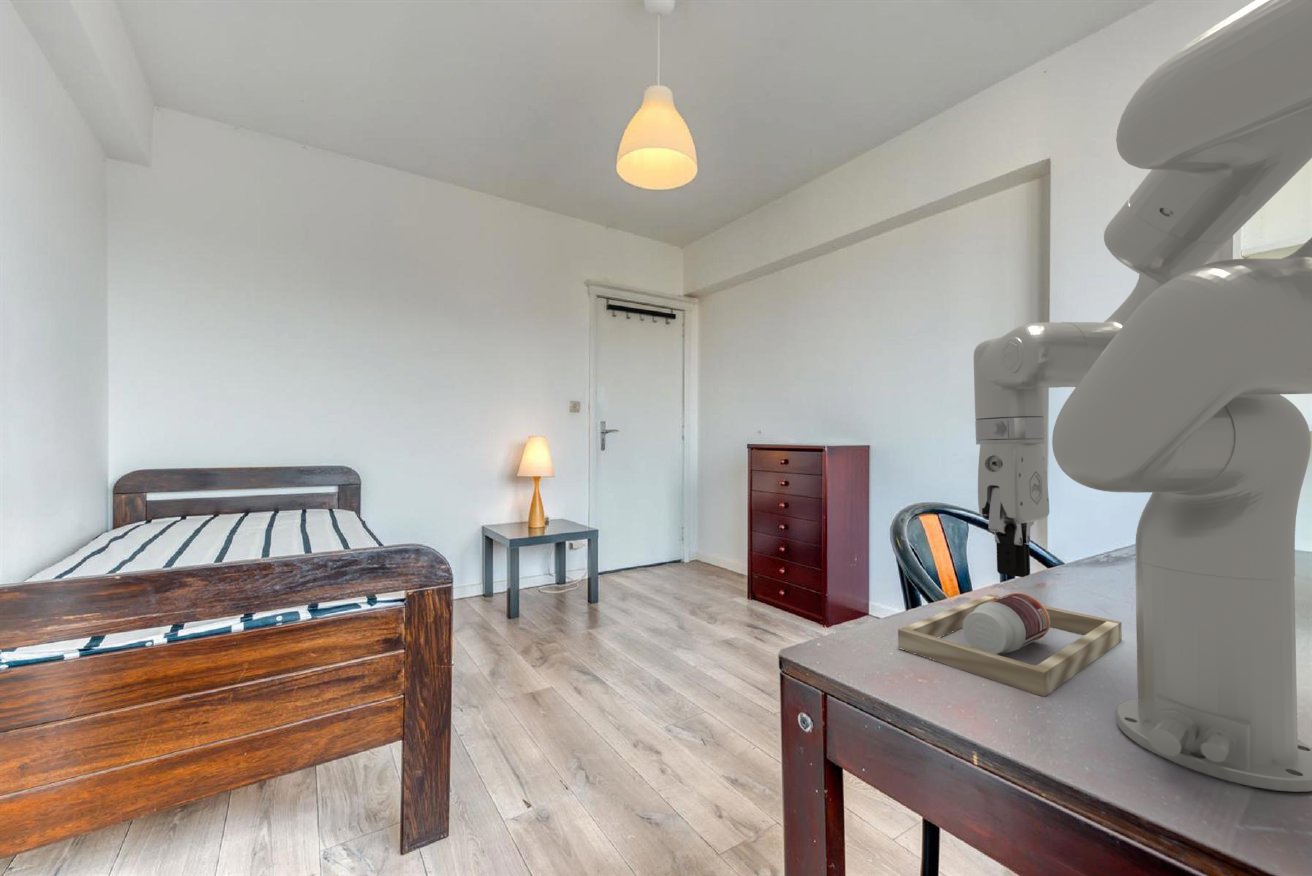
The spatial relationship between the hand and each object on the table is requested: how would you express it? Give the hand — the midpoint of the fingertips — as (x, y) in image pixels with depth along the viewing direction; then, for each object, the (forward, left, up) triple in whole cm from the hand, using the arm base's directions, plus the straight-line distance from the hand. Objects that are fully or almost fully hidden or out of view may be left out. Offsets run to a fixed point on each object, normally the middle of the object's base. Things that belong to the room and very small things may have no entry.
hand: (1013, 574), depth 69 cm
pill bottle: (+5, 0, -6) cm, 8 cm away
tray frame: (0, 0, -9) cm, 9 cm away
